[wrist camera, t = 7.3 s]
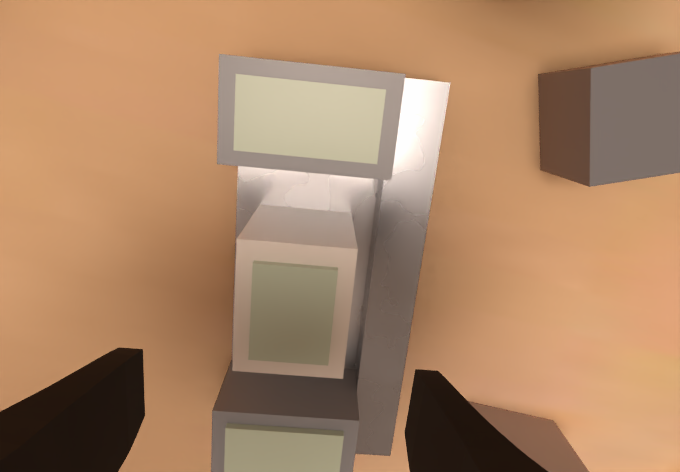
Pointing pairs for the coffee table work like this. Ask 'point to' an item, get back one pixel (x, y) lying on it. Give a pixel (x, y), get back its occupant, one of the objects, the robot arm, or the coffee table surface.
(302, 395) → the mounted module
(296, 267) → the block
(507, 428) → the block
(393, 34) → the coffee table surface
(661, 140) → the block
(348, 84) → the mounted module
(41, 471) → the robot arm
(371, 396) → the rail
